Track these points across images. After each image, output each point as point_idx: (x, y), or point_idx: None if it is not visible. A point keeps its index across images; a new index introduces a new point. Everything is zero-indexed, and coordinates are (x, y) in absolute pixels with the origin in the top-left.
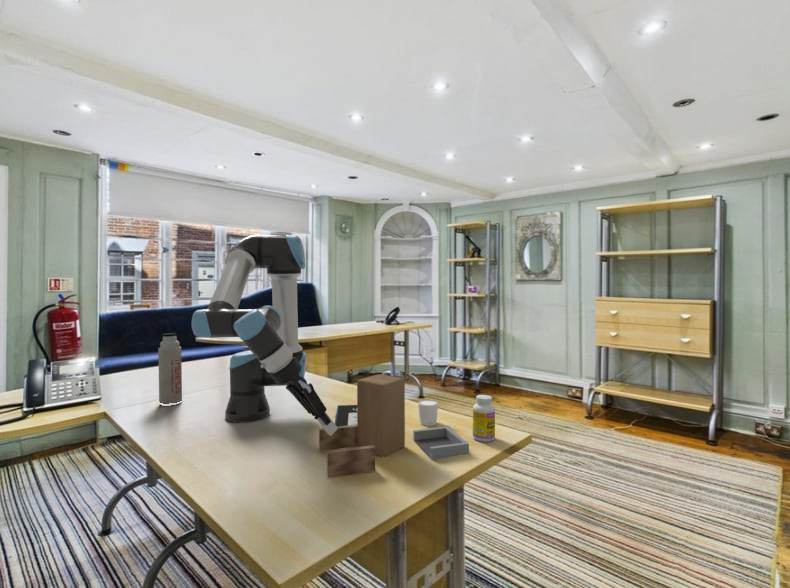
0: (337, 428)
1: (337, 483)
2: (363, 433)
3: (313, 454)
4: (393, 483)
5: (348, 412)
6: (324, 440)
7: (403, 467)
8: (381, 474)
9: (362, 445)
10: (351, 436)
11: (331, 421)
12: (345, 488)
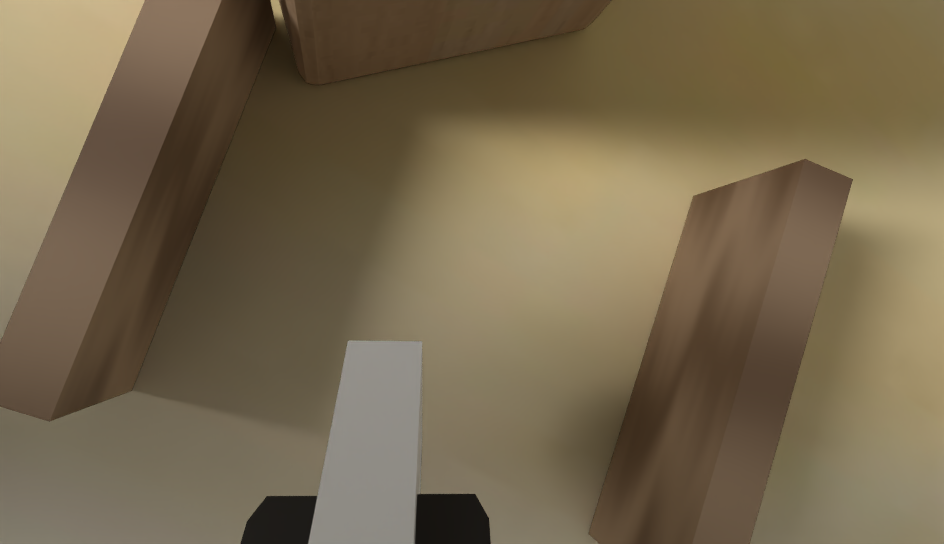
0: (421, 351)
1: None
2: (397, 10)
3: (160, 469)
4: (924, 221)
5: None
6: (117, 353)
7: (792, 25)
8: None
9: (373, 61)
10: (225, 76)
11: (418, 456)
12: (818, 508)
